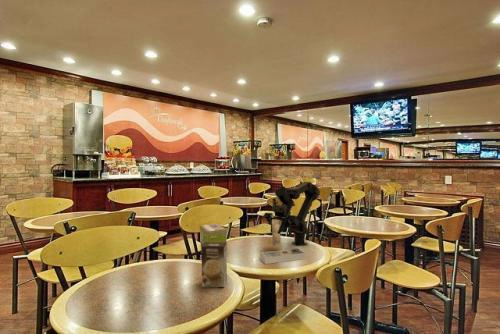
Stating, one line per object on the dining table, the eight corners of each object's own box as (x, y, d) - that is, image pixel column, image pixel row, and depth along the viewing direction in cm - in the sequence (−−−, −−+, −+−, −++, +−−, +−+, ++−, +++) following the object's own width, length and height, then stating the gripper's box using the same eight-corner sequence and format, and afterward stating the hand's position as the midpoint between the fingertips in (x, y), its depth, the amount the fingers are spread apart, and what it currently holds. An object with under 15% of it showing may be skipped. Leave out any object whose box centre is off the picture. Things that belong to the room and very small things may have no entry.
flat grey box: (260, 258, 144) (260, 252, 144) (297, 254, 149) (297, 248, 149) (265, 263, 136) (265, 257, 136) (304, 259, 142) (304, 252, 142)
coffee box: (201, 287, 112) (200, 246, 112) (205, 281, 118) (204, 241, 118) (224, 288, 111) (223, 246, 111) (227, 281, 117) (226, 241, 117)
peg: (271, 244, 150) (270, 219, 150) (277, 243, 152) (277, 218, 152) (275, 246, 147) (274, 220, 146) (282, 245, 148) (281, 219, 148)
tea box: (200, 252, 156) (199, 224, 156) (218, 249, 161) (217, 222, 160) (208, 260, 143) (207, 230, 143) (227, 257, 147) (226, 228, 147)
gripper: (265, 197, 158) (253, 221, 149) (295, 199, 146) (284, 225, 138) (273, 210, 164) (262, 233, 156) (303, 213, 152) (293, 238, 144)
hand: (274, 232), depth 148 cm, fingers closed on peg, 4 cm apart
